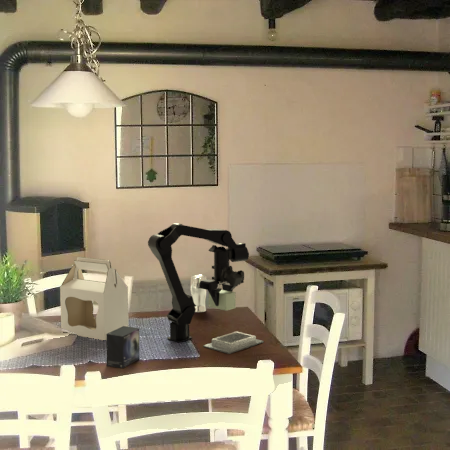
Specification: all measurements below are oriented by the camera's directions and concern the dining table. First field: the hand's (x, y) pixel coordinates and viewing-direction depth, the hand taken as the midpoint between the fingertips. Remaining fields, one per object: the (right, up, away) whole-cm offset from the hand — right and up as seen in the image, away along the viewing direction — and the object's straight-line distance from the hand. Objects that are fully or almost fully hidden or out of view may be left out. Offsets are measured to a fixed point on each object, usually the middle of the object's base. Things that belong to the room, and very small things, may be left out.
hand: (221, 304), depth 232 cm
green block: (0, -1, 0) cm, 1 cm away
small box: (-31, -14, -34) cm, 48 cm away
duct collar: (+4, -12, -15) cm, 20 cm away
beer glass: (-10, -7, +34) cm, 37 cm away
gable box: (-48, -11, +1) cm, 49 cm away
